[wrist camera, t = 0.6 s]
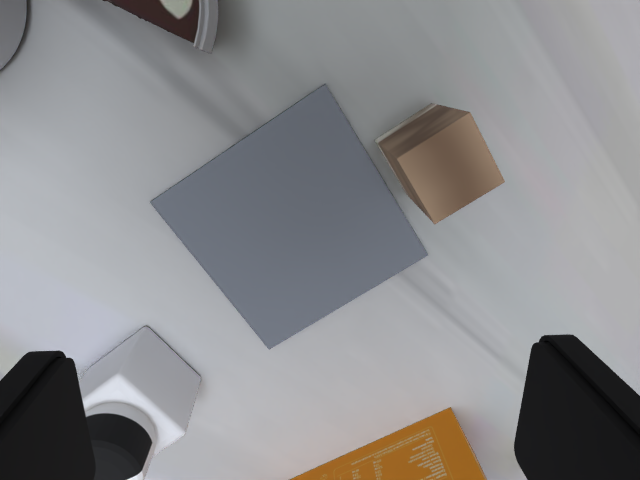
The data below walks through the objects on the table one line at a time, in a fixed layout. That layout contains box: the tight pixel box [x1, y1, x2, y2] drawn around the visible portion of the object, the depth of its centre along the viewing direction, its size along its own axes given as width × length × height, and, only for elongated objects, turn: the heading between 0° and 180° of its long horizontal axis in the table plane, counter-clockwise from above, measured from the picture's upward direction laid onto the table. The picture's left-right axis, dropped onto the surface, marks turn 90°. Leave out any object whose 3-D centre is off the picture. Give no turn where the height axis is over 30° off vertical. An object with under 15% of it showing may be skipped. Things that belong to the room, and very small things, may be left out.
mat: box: [150, 84, 428, 349], centre depth 37 cm, size 16×16×1 cm
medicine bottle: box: [79, 327, 201, 480], centre depth 36 cm, size 7×7×12 cm
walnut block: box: [375, 103, 505, 224], centre depth 32 cm, size 5×5×8 cm
